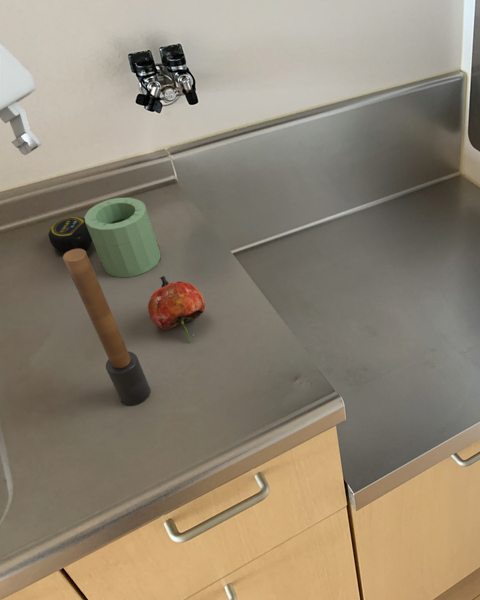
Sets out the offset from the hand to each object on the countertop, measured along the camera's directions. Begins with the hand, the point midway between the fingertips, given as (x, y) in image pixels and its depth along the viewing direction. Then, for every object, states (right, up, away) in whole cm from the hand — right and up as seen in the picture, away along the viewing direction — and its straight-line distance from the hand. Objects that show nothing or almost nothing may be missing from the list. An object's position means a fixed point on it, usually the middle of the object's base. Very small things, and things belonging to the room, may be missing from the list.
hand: (1, 171), depth 62 cm
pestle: (+7, -25, +15) cm, 30 cm away
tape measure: (-12, -4, +39) cm, 41 cm away
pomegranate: (+10, -17, +24) cm, 31 cm away
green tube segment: (-2, -7, +35) cm, 36 cm away
